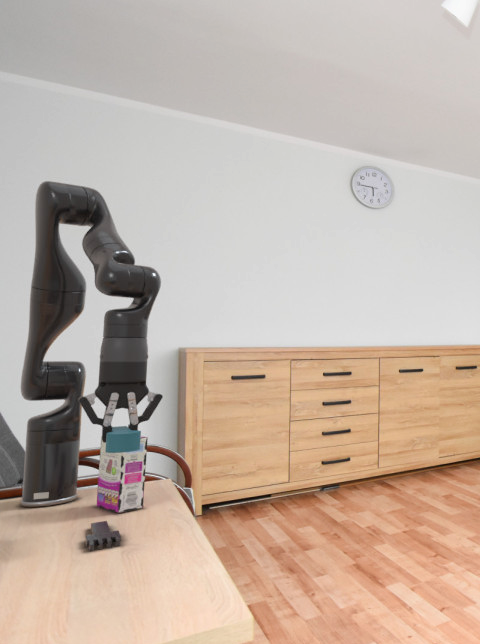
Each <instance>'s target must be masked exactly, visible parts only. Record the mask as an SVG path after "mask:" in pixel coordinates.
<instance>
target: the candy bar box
mask: <svg viewBox="0 0 480 644" xmlns="http://www.w3.org/2000/svg"><path fill="white" fill-rule="evenodd" d="M148 439H149V437H148V436H142V435H141V440H140V450H137V451H131V452H122V453H107V452H105V450H106V442H105V443H103V441H102V435H101V436H100V450H99V465H98V466H99V467H98V476H97V477H98V478H97V493H96V494H97V495H96V507H97V508H101V509H104V510H106V511H111V512H113V513H118V514H122V513H125V512H131V511H137V510H141V509H143V508H144V500H145V499H144V498H145V483H146V481H145V480H146V467H147V452H148Z"/></svg>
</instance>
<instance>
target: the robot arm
mask: <svg viewBox="0 0 480 644" xmlns="http://www.w3.org/2000/svg"><path fill="white" fill-rule="evenodd" d="M34 204H35V205H34V216H35V217H34V218H35V221H34V222H35V224H34V225H35V226H34V227H35V244H34V245H35V247H34V250H35V251H34V260H33V269H32V278H31V284H30V294H29V315H28V316H29V317H28V318H29V319H28V333H27V341H26V347H25V352H24V358H23V359H24V360H23V366H22V371H21V378H20V394H21V396H22V398H23V399H24V400H26V401H31V402H34V401H35V402H36V401H39V402H40V401H41V402H42V401H61V400H63V401H64V402H63V404H61V405H60V406H58V407H57V408H55V409H52V410H49V411H47V412H45V413H41V414H38V415H35V416H34V415H33V416H32V417H30V418H29V419H28V420H27V423H26V433H25V434H26V436H25V450H24V451H25V452H24V465H23V466H24V467H23V477H21V478H19V479H18V480H17V482H16V484H17V485H20V484H22V491H21V492H22V493H21V500H20V506H22V507H25V508H37V507H48V506H55V505H61V504H66V503H69V502H72V501H75V500H76V499H78V492H77V490H78V478H79V477H78V476H79V462H80V446H81V432H82V431H81V429H82V412H83V411H84V412H85V414H86V416H87V418H88V419H89V421H90V422H91V424H93V425H97V426H101V427H102V429H101V436H102V441H103V443H105V442H106V434H107V433H109V432H112V427H113V426H112V422H113V417H114V415H115V413H116V410H119V409H125V410H127V414H128V421H129V424H127V427H128V428H129V429H131V430H138V431H139V425H140V424H141V423H144V422H147V421H149V420H150V419H151V417H152V415H153V414H154V412H155V411H156V409H157V407H159V404H160V402H161V401H162V400H163V396H164V395H163V394H161V393H156V392H154V391H153V392H152V391H150V389H149V388H148V386H147V377H148V376H147V375H148V372H147V371H148V359H149V345H148V332H149V331H148V330H149V319H150V315H151V312H152V310H153V308H154V307H153V306H154V304H155V301H156V299H157V297H158V295H159V293H160V289H161V286H162V279H161V276H160V274H159V272H158V270H156V269H155V268H154V267H152V266H146V265H139V264H136V258H135V256H134V254H133V252H132V251H131V249H130V248H129V247H128V246H127V244H126V242H125V241H124V240H123V238H122V237H121V236H120V234H119V232H118V230H117V227H116V223H115V222H114V218H113V216H112V214H111V212H110V208H109V206H108V204H107V201H106V200H105V198H104V196H103V195H102V193H101V192H100V191H98V190H97V189H95V188H92V187H89V186H83V185H76V184H71V183H65V182H59V181H58V182H57V181H52V180H51V181H50V180H45V181H42V182H41V183H40V184H39V185H38V187H37V190H36V194H35V202H34ZM60 225H68V226H77V227H89V229H88V230H87V231H86V232H85V234H84V235H83V237H82V239H81V240H82V241H81V245H82V251H83V253H84V254H85V256H86V257H87V258H88V260H89V261H90V263H91V265H92V266H93V271H94V287H95V288H96V289H97V291H98V292H100V293H101V294H102V295H105V296H108V297H114V298H127V299H132V302H131V303H130V305H128V306H127V307H121V308H113V309H109V310H107V311H106V312H105V313H104V318H103V331H102V340H101V341H102V342H101V346H100V352H99V353H100V355H99V368H98V384H97V386H96V388H95V390H94V392H93V393H90V394H87V395H84V393H85V386H86V377H87V374H86V373H87V371H86V367H85V365H84V363H83V362H81V361H76V360H75V361H74V360H60V361H59V360H58V361H57V360H48V361H47V360H45V361H44V359H45V357H46V355H47V353H48V351H49V349H50V348H51V346H52V345H53V343H55V341H56V340H57V339H58V338H59V336H61V334H63V332H65V331H66V330H67V329H69V327H70V326H71V325H72V324H73V323H74V322H75V321H76V320H77V319H78V318H79V317H80V316H81V315H82V313H83V312H84V310H85V305H86V296H87V295H86V294H87V281H86V278H85V276H84V275H83V273H82V271H81V270H80V269H79V267H78V266H77V264H76V262H75V261H73V259H72V258H71V256H70V255H69V254H68V251H67V250H66V249H65V247H64V245H63V241H62V238H61V234H60ZM146 396H147V402H148V404H147V406H146V408H145V409H144V410H143V412H142V414H141V415H139V416H138V407H137V406H138V405H139V404H140V403H141V402H142V401H143V400H144V399H145V397H146ZM96 398H97V399H98V400H99V401H100V402H101V403H102V404H103V405H104V406H105V409H104V413H103V417H102V418H101V417H98V415H97V413H96V412H95V410H94V408H93V405H95V399H96Z"/></svg>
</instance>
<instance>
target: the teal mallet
mask: <svg viewBox="0 0 480 644" xmlns="http://www.w3.org/2000/svg"><path fill="white" fill-rule="evenodd" d="M141 436H142V431H141V430H139V429H138V430H131V429H129V428H128V425H124V426H123V425H119V426H112V432H109V433H107V434H106V450H105V452H107V453H122V452H131V451H137V450H140V440H141Z"/></svg>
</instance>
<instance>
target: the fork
mask: <svg viewBox="0 0 480 644" xmlns="http://www.w3.org/2000/svg"><path fill="white" fill-rule="evenodd" d="M90 531H91V534H87V535H85V537H84V538H85V539H84V543H85V547H86V548H88V551H89V552H93V551H94V550H95V546H96V547H97V549H98V550H103V548H104V545H105V547H106V549H111V548H112V544H114V546H115V547H116V548H117V547H121V546H120V545H121V533H120V531H119V530H111V529H110V526H109V523H108V521H107V520H104V521H97V522H91V523H90Z"/></svg>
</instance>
